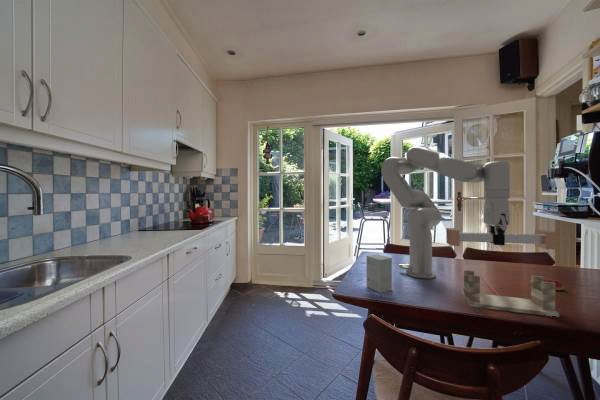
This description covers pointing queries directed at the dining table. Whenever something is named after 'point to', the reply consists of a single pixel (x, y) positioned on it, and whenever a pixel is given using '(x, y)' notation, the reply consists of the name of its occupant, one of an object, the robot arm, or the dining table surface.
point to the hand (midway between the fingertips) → (496, 243)
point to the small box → (379, 273)
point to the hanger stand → (538, 304)
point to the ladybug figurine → (558, 284)
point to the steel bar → (540, 238)
